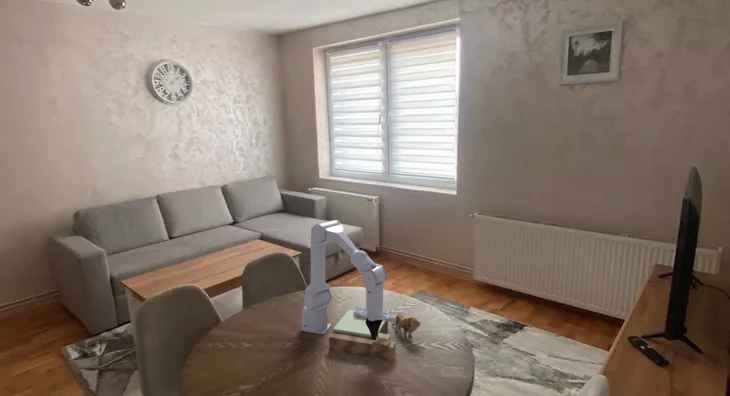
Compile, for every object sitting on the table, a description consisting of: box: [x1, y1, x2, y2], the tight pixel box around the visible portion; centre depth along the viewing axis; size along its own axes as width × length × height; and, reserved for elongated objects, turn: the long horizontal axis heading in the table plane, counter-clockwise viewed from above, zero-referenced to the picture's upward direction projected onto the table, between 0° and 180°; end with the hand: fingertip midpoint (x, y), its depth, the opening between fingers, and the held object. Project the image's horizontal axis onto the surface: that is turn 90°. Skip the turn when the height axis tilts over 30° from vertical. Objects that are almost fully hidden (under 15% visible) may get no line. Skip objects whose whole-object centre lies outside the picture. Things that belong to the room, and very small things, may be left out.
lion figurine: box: [391, 313, 421, 341], centre depth 158 cm, size 15×5×9 cm, turn 35°
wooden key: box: [376, 333, 391, 346], centre depth 142 cm, size 4×3×2 cm
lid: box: [332, 307, 386, 337], centre depth 155 cm, size 16×16×4 cm
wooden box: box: [328, 321, 397, 362], centre depth 153 cm, size 23×20×5 cm
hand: (374, 338), depth 143 cm, fingers closed
